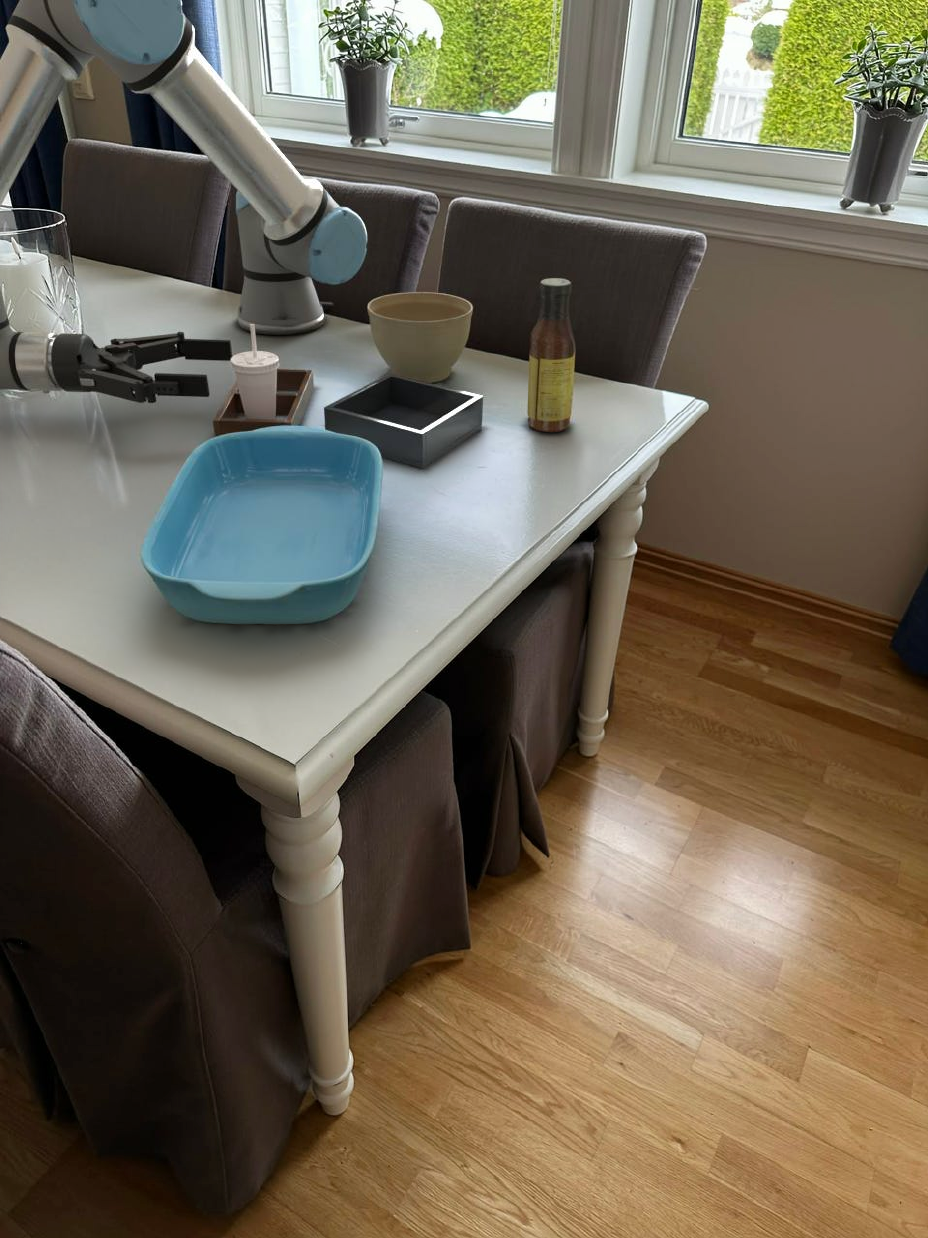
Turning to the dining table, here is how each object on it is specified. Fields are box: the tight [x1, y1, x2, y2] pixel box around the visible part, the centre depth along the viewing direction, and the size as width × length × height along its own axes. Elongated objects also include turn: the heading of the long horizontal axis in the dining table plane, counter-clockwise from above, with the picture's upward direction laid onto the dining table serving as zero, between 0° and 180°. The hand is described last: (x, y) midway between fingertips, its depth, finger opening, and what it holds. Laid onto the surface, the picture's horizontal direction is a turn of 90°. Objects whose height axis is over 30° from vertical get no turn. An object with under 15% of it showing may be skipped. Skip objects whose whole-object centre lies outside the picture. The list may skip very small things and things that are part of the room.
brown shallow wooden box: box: [212, 368, 315, 437], centre depth 128 cm, size 20×10×3 cm, turn 0°
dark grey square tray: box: [323, 372, 484, 470], centre depth 123 cm, size 16×16×5 cm
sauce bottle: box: [526, 277, 576, 433], centre depth 123 cm, size 7×6×20 cm
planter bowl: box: [367, 291, 474, 384], centre depth 141 cm, size 16×16×11 cm
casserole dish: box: [140, 425, 384, 625], centre depth 96 cm, size 37×22×7 cm, turn 2°
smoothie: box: [229, 324, 280, 420], centre depth 121 cm, size 6×6×14 cm
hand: (220, 367), depth 120 cm, fingers open, 13 cm apart
